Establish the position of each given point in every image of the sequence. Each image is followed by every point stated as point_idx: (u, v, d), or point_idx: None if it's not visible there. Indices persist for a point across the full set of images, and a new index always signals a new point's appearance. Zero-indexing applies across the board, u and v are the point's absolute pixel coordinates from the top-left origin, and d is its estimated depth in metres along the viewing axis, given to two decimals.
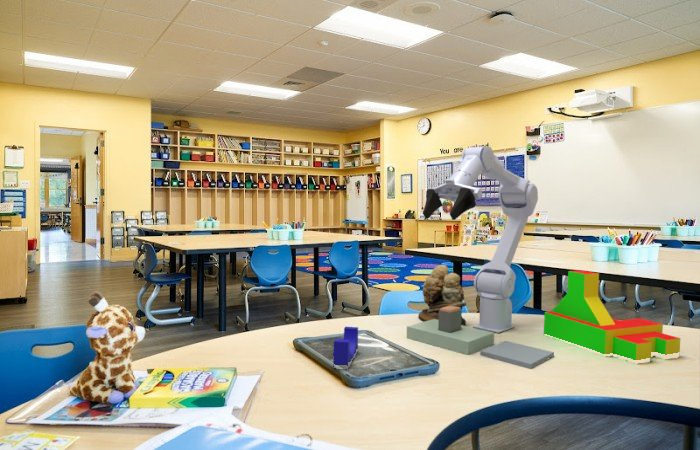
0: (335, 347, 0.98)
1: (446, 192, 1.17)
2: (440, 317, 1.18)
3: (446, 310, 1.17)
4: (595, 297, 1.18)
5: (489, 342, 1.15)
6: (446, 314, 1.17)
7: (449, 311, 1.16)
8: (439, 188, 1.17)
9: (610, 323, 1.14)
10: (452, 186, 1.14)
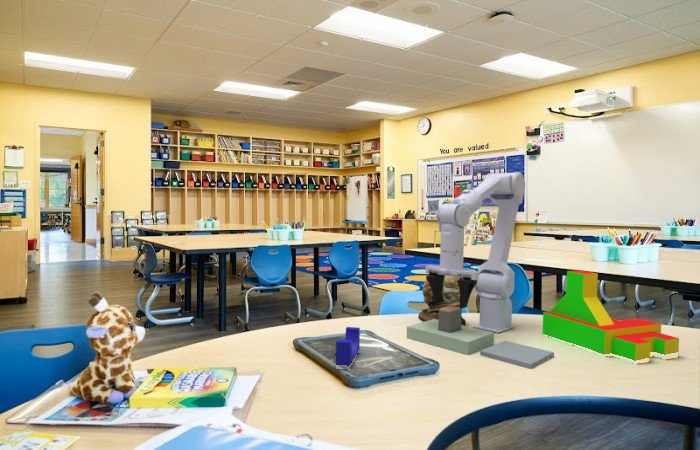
0: (337, 347, 0.98)
1: None
2: (440, 317, 1.18)
3: (446, 310, 1.17)
4: (594, 297, 1.18)
5: (489, 342, 1.15)
6: (446, 314, 1.17)
7: (449, 311, 1.16)
8: (436, 270, 1.20)
9: (609, 323, 1.14)
10: None
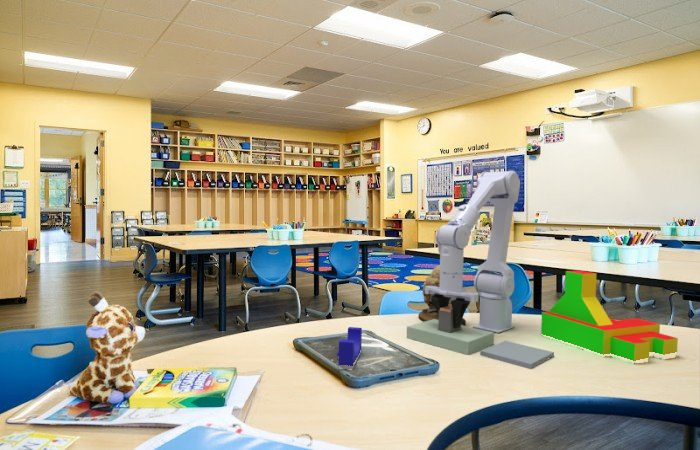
0: (340, 347, 0.98)
1: None
2: (440, 317, 1.18)
3: (446, 310, 1.17)
4: (593, 297, 1.18)
5: (489, 342, 1.15)
6: (446, 314, 1.17)
7: (449, 311, 1.16)
8: (435, 291, 1.20)
9: (608, 323, 1.14)
10: None
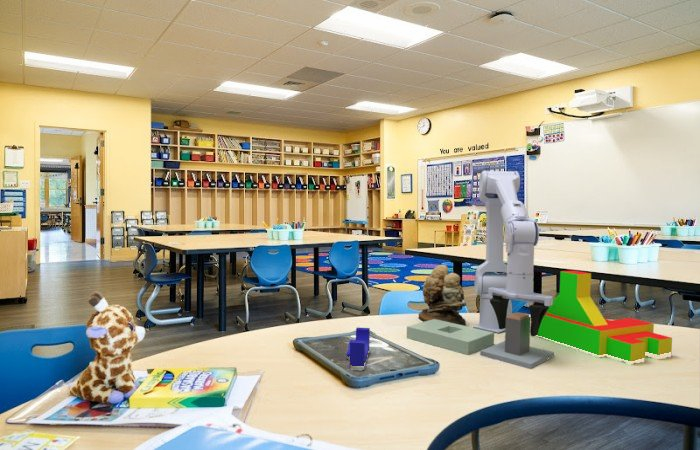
0: (351, 348, 0.97)
1: None
2: (507, 325, 1.07)
3: (515, 317, 1.06)
4: (588, 297, 1.18)
5: (489, 342, 1.15)
6: (515, 322, 1.06)
7: (518, 319, 1.05)
8: (501, 294, 1.09)
9: (603, 323, 1.13)
10: None
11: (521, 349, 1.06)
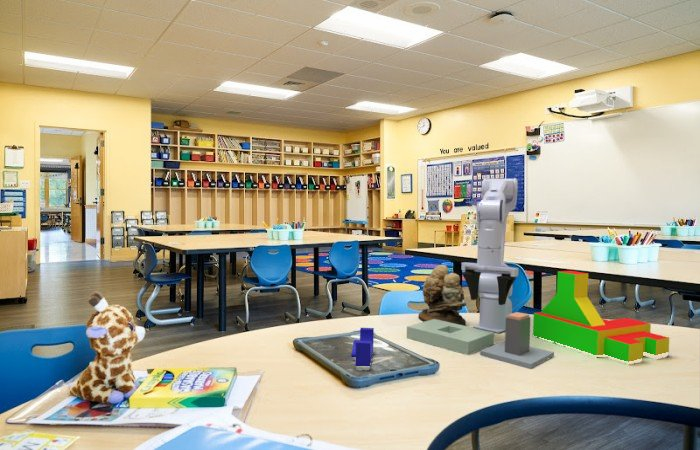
0: (357, 348, 0.97)
1: None
2: (507, 325, 1.07)
3: (515, 317, 1.06)
4: (585, 298, 1.17)
5: (489, 342, 1.15)
6: (515, 322, 1.06)
7: (518, 319, 1.05)
8: (473, 267, 1.19)
9: (600, 323, 1.13)
10: None
11: (521, 349, 1.06)
